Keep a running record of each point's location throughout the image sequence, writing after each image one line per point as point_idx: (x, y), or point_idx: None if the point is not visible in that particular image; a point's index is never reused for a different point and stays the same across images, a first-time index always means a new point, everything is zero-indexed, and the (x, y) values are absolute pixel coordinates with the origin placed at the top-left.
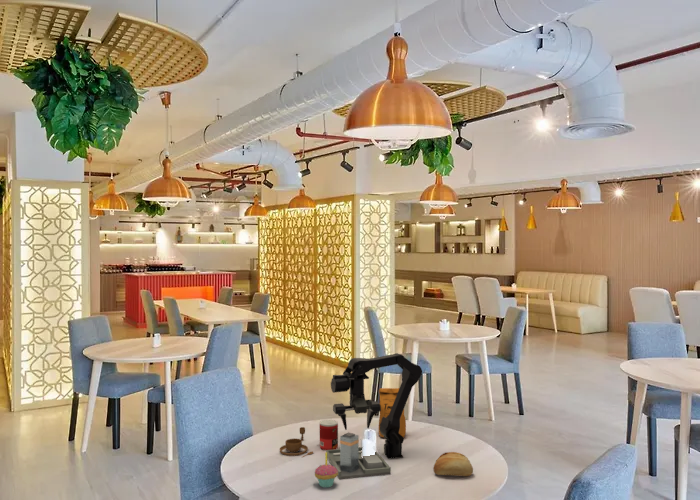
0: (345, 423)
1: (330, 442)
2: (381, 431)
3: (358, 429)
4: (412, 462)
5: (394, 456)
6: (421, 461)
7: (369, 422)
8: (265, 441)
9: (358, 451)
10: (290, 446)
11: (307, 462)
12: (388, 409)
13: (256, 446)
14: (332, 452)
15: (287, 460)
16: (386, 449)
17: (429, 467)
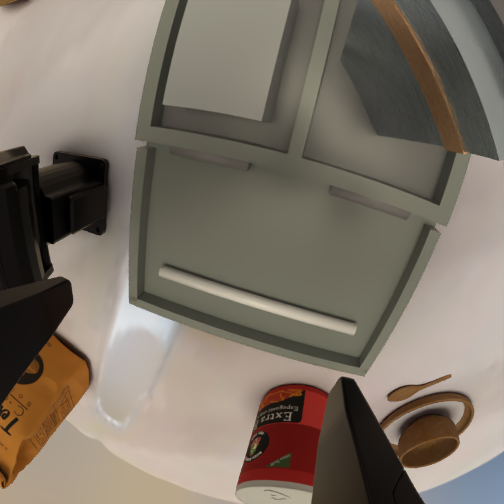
0: (375, 453)
1: (309, 414)
2: (26, 264)
3: (140, 435)
4: (52, 89)
5: (79, 161)
6: (29, 92)
7: (5, 297)
8: (417, 479)
9: (352, 21)
10: (456, 431)
11: (476, 322)
12: (7, 409)
13: (458, 462)
14: (337, 354)
15: (500, 367)
16: (82, 192)
17: (38, 30)
